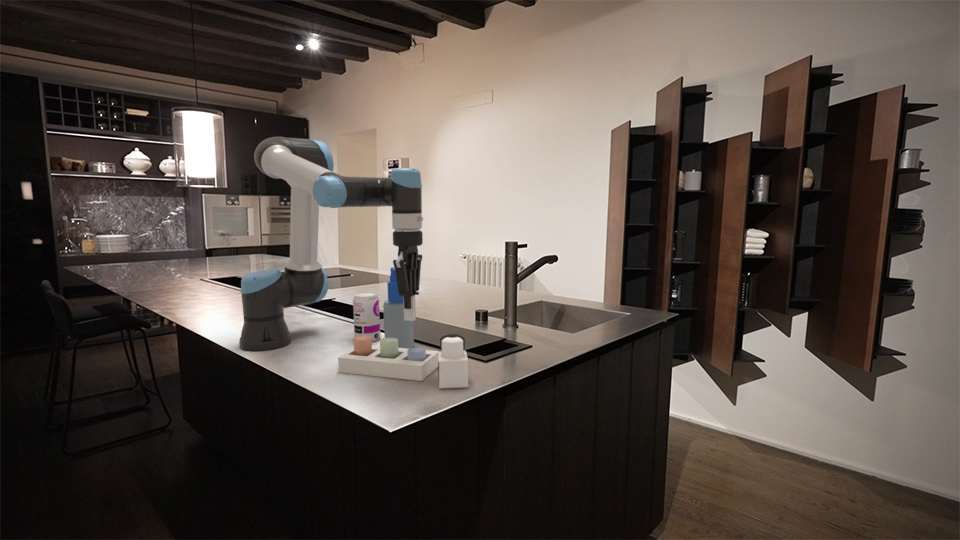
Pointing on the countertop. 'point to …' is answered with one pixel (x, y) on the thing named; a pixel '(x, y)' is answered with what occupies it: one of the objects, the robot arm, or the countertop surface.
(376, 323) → the supplement can
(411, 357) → the button blue
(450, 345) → the medicine bottle
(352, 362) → the panel
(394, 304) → the spray bottle
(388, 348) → the button sage
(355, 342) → the button terracotta
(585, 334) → the countertop surface
